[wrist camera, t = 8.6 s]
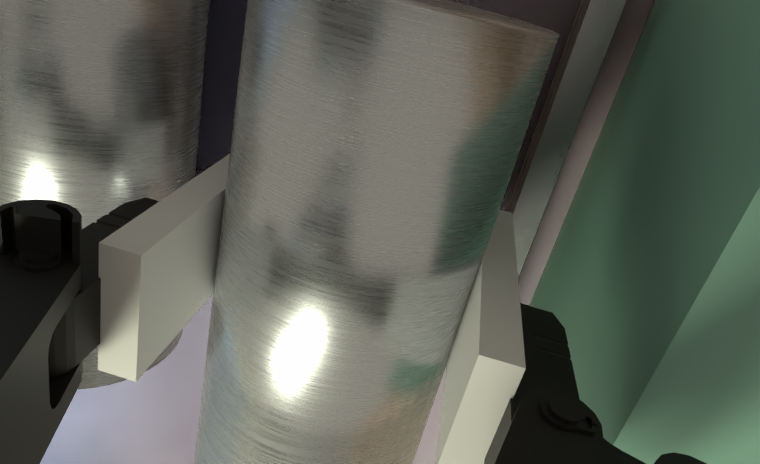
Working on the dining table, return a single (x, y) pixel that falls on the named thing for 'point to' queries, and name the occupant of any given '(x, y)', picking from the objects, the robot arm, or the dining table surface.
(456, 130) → the roller
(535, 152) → the cradle
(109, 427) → the dining table surface
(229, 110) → the dining table surface
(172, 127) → the roller bed
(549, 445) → the robot arm
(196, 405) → the dining table surface
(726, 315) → the bar
